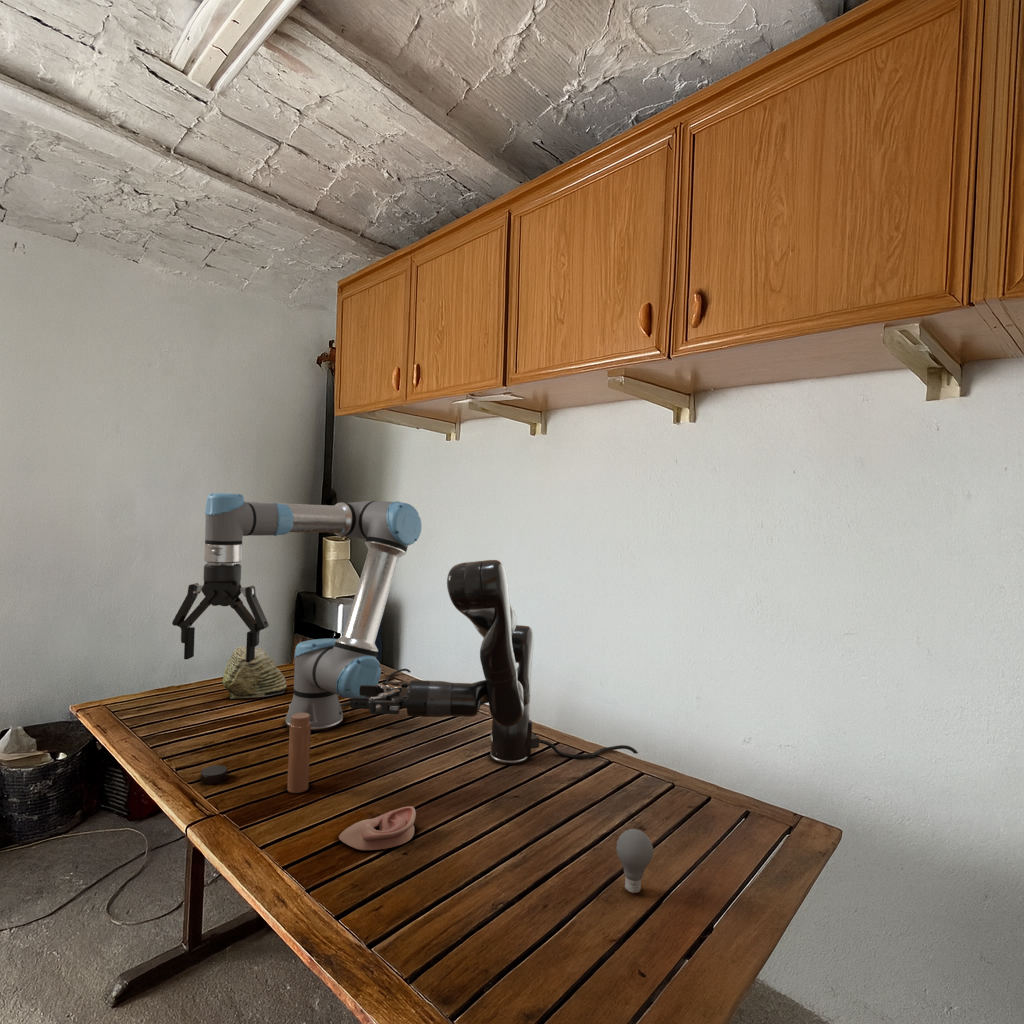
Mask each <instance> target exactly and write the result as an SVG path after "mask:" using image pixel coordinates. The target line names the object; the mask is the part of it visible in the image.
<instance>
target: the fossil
mask: <svg viewBox="0 0 1024 1024" xmlns="http://www.w3.org/2000/svg"><path fill="white" fill-rule="evenodd" d="M222 676H223V677H222V685H223V687H224V688H225V690H226V691H228V693H229V698H230V699H250V698H264V697H271V696H275V695H281V694H284V693H285V691H286V689H287V687H288V686H287V680H286V678H285V676H284V674H283V673H282V672H281V669H279V668H278V667H277V665H276V663H275V662H274V660H273V659H272V658H271V657H270V656H269V655H268V654H267V653H266V652H265V650H264V649H263V648H260V647H258V648H255V659H254V660H252V661H251V662H246V647H245V646H238V647H237V648H236V649H235V650H233V651H232V653H231V656H230V657H229V659H228V660H227V663H226V666H225V668H224V671H223V675H222Z"/></svg>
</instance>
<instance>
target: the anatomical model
mask: <svg viewBox="0 0 1024 1024" xmlns="http://www.w3.org/2000/svg"><path fill="white" fill-rule="evenodd" d="M416 816H417V812H416V809H415V807H414V806H413V805H412V806H410V805H407V806H403V807H399V808H395V809H393V810H390V811H388V812H385V813H383V814H380V815H378V816H376V817H373V818H367V819H363V820H360V821H356V822H354V824H351V825H350V826H348V827H346V828H345V829H344V830H343V831H342V832H341V833H340V834H339V835H338V839H339V840H340V841H341V842H342V843H344V844H345V845H347V846H349V847H351V848H353V849H355V850H359V851H378V850H386V849H391V848H395V847H398V846H401V845H404V844H405V843H407V842H409V841H410V840H412V839H413V837H414V835H415V826H414V823H415V821H416Z"/></svg>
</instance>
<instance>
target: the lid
mask: <svg viewBox="0 0 1024 1024" xmlns="http://www.w3.org/2000/svg"><path fill="white" fill-rule="evenodd" d="M227 779H228V767H227V766H225V765H220V764H219V765H218V764H217V765H216V764H215V765H210V766H207V767H204V768H203V769H201V771H200V783H202V784H204V785H217V784H220V783H223V782H225V781H227Z"/></svg>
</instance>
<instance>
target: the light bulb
mask: <svg viewBox="0 0 1024 1024" xmlns="http://www.w3.org/2000/svg"><path fill="white" fill-rule="evenodd" d="M615 849H616V854H617V857H618V859H619V861H620V863H621V865H622V867H623V873H624V874H623V875H624V876H625V878H624V888H625V890H627V891H628V892H630V893H634V894H635V893H639V892H640V891H641V889H642V887H641V886H642V879H643V877H644V875H645V871H646V868H647V867H648V866H649V864H650V863H651V861H652V859H653V855H654V847H653V843H652V841H651V838H649V836H648V835H647V834H646V833H645V832H643V831H642V830H641V829H636V828H629V829H627V830H625V831H623V832H622V833H621V834H620V835H619V837H618V839H617V841H616V847H615Z"/></svg>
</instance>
